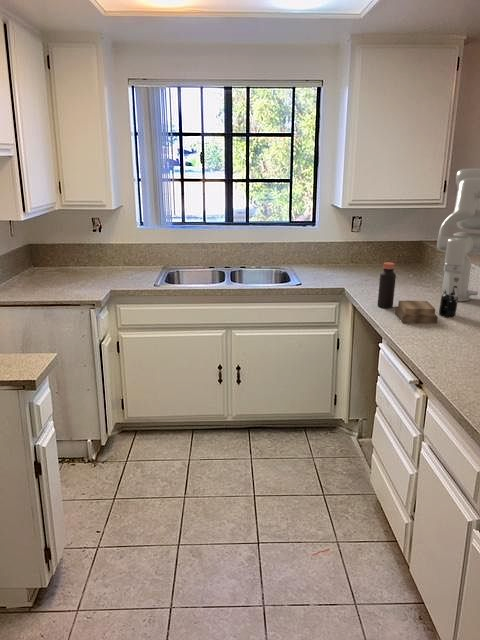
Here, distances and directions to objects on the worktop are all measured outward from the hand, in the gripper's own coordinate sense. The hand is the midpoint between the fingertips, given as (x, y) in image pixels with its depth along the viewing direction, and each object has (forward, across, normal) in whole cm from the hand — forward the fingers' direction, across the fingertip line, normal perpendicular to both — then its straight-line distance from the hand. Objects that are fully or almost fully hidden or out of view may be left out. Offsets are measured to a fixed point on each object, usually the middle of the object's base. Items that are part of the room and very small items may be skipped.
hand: (448, 308), depth 223 cm
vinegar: (+3, +12, +24) cm, 27 cm away
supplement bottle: (+3, 0, 0) cm, 3 cm away
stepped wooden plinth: (+3, -5, +15) cm, 16 cm away
